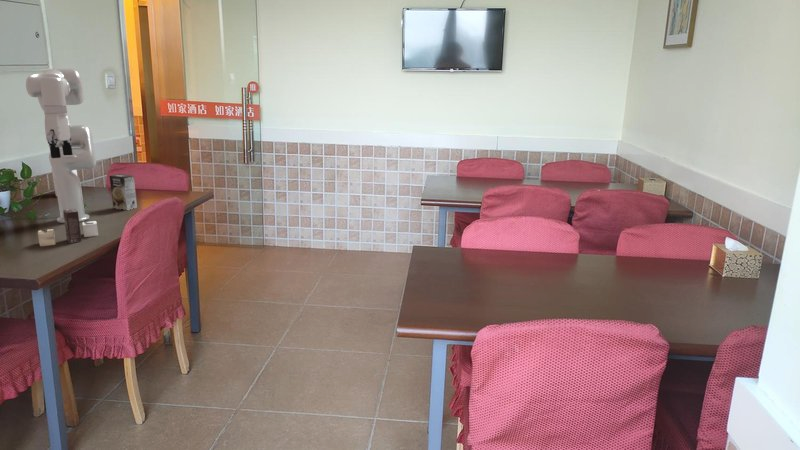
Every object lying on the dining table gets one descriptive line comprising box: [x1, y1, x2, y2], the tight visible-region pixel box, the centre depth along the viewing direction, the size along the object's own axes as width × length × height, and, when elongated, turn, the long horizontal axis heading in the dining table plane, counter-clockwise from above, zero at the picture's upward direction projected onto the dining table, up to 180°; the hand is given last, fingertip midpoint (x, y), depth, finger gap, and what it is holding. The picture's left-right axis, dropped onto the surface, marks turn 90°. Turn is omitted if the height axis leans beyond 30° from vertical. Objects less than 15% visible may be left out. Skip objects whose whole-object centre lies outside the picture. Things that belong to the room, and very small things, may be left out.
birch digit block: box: [37, 228, 56, 247], centre depth 221 cm, size 5×5×5 cm
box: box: [63, 209, 82, 244], centre depth 224 cm, size 6×4×12 cm
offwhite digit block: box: [81, 220, 99, 238], centre depth 233 cm, size 5×5×5 cm
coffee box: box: [109, 173, 138, 211], centre depth 275 cm, size 9×6×16 cm
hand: (62, 156), depth 220 cm, fingers open, 9 cm apart
